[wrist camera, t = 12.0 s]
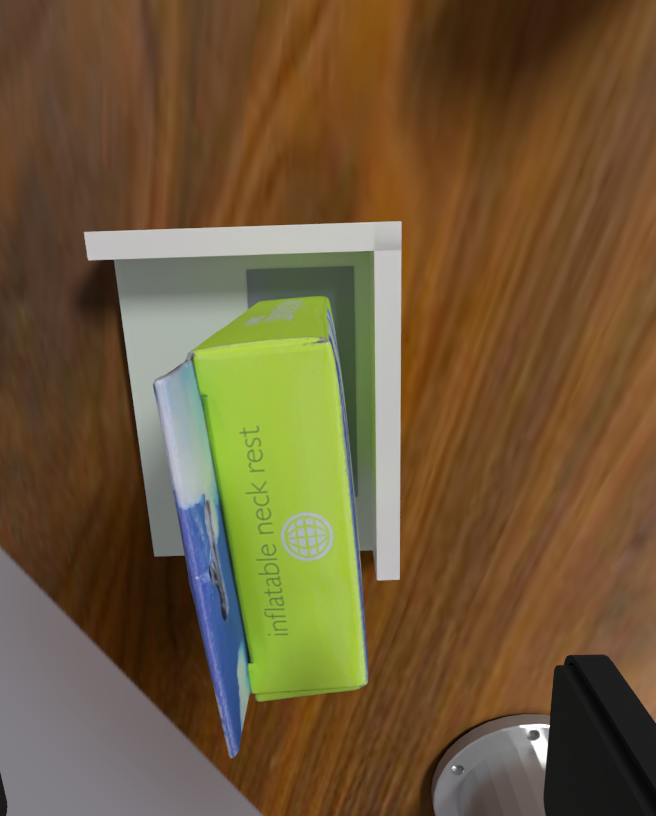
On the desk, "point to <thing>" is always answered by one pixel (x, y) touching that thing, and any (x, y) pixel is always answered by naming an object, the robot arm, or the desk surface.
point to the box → (268, 506)
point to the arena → (232, 296)
